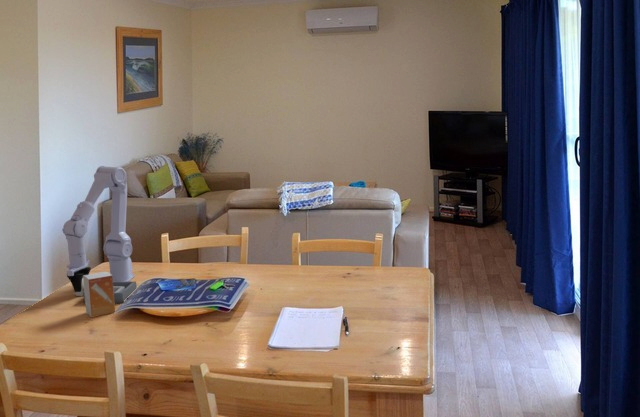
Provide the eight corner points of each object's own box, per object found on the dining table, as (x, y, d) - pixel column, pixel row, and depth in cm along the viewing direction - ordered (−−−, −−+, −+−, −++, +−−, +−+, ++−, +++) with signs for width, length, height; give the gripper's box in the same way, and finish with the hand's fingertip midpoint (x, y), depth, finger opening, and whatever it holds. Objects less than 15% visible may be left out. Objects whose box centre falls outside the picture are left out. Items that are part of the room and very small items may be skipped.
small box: (91, 317, 235) (88, 279, 233) (85, 312, 241) (82, 275, 238) (116, 312, 240) (112, 274, 237) (109, 307, 245) (106, 270, 243)
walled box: (99, 290, 265) (98, 281, 264) (136, 290, 263) (136, 281, 263) (84, 302, 251) (83, 293, 250) (123, 303, 250) (122, 293, 249)
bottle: (77, 292, 262) (76, 272, 261) (88, 292, 262) (86, 272, 260) (73, 296, 258) (71, 276, 257) (84, 296, 258) (82, 275, 257)
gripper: (74, 248, 265) (78, 283, 267) (57, 258, 250) (61, 296, 253) (93, 248, 264) (96, 283, 267) (76, 258, 250) (80, 296, 252)
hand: (80, 289), depth 260 cm, fingers closed on bottle, 4 cm apart
